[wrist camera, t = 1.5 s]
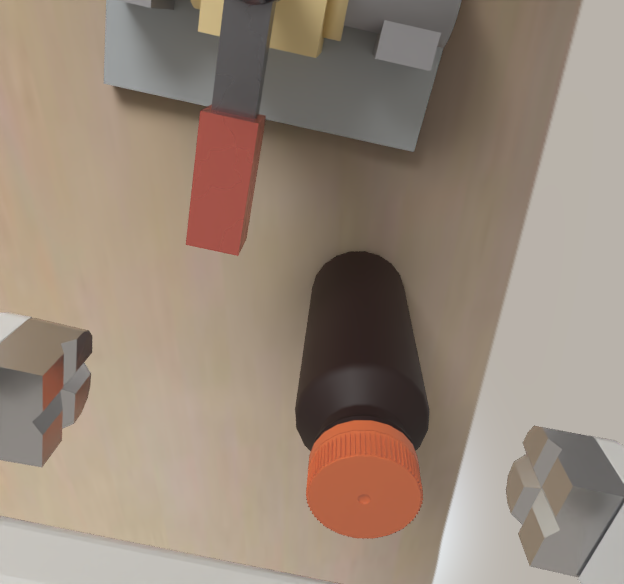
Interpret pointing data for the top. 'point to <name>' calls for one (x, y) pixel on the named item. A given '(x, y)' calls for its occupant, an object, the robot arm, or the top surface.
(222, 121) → the lever
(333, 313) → the bottle
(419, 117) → the valve assembly
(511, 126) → the top surface
